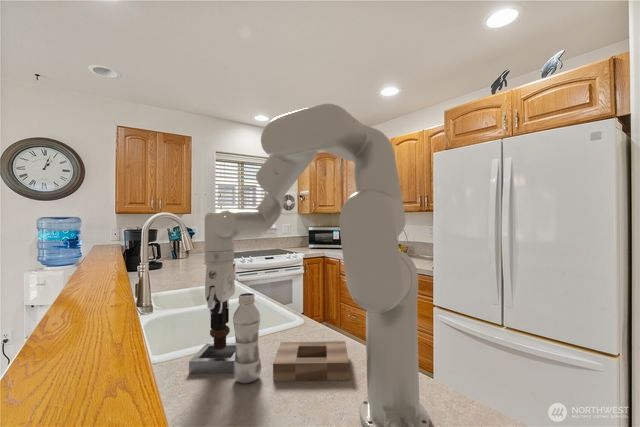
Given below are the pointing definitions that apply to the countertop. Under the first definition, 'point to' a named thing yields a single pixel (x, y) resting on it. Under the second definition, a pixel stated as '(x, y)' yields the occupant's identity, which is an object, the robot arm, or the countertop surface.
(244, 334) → the plastic bottle
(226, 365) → the frame
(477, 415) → the countertop surface
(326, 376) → the wooden block with hole
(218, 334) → the bolt
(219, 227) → the robot arm
